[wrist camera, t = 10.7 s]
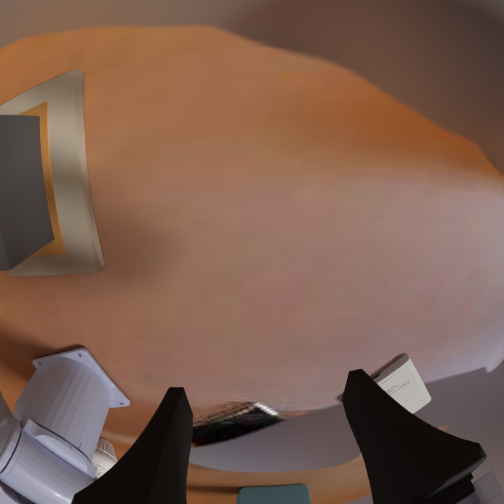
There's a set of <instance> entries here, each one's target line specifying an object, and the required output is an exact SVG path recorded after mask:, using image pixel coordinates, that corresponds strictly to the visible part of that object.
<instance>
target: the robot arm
mask: <svg viewBox="0 0 504 504" xmlns="http://www.w3.org/2000/svg"><path fill="white" fill-rule="evenodd" d="M32 363H33V365H34V366H35V367H36V369H37V370H36V371H35V373H34V374H33V376H32V377H31V379H30V380H29V382H28V384H27V385H26V387H25V388H24V390H23V392H22V393H21V395H20V397H19V398H18V400H17V402H16V404H15V408H14V418H6V419H4V420H3V421H2V422H1V423H0V504H187V502H186V479H187V469H188V462H189V455H190V448H191V441H192V430H193V413H192V411H191V408H190V405H189V402H188V399H187V396H186V393H185V390H184V387H170V388H169V389H168V390H167V392H166V394H165V396H164V398H163V400H162V402H161V403H160V405H159V407H158V409H157V410H156V412H155V414H154V415H153V417H152V418H151V420H150V422H149V423H148V425H147V426H146V428H145V429H144V430H143V432H142V433H141V435H140V436H139V437H138V439H137V440H136V441H135V443H134V444H133V445H132V446H131V448H130V449H129V450H128V451H127V452H126V453H125V454H124V456H123V457H122V458H121V459H120V460H119V461H118V462H117V463H116V464H115V465H114V466H113V467H111V468H110V469H109V470H108V471H107V472H106V473H104V474H103V475H102V476H101V477H99V478H98V477H96V473H97V469H98V468H97V467H95V466H94V465H92V464H91V463H92V459H93V456H94V453H95V449H96V446H97V443H98V440H99V437H100V434H101V431H102V428H103V425H104V422H105V419H106V416H107V413H108V410H109V408H113V407H123V406H129V405H130V401H129V399H128V398H127V397H126V396H125V395H124V394H123V393H122V392H121V391H120V390H119V389H118V387H117V386H116V385H115V384H114V383H113V382H112V381H111V379H110V378H109V377H108V376H107V375H106V373H105V372H104V371H103V370H102V369H101V367H100V366H99V365H98V364H97V362H96V361H95V360H94V359H93V357H92V356H91V355H90V353H89V352H88V351H87V350H86V349H85V348H78V349H74V350H70V351H66V352H62V353H58V354H54V355H50V356H46V357H42V358H37V359H34V360H33V361H32ZM342 401H343V405H344V409H345V413H346V416H347V419H348V422H349V424H350V427H351V429H352V431H353V434H354V436H355V438H356V441H357V444H358V446H359V448H360V451H361V453H362V456H363V459H364V462H365V466H366V470H367V474H368V478H369V482H370V487H371V492H372V498H373V504H504V488H503V485H502V483H501V481H500V480H499V478H498V476H497V474H496V472H495V470H494V469H491V470H490V471H489V472H488V473H486V474H485V475H484V476H482V477H481V478H480V479H478V480H477V481H475V482H474V483H473V484H472V482H471V479H473V476H472V474H471V473H472V472H473V471H474V470H475V469H476V468H477V467H478V466H479V465H480V464H481V463H483V461H485V459H486V457H487V455H486V454H485V452H484V450H483V449H482V447H481V445H480V444H479V443H476V442H472V441H468V440H464V439H461V438H458V437H456V436H453V435H450V434H448V433H446V432H444V431H441V430H439V429H437V428H435V427H433V426H431V425H430V424H428V423H426V422H424V421H423V420H421V419H420V418H418V417H417V416H415V415H414V414H412V413H411V412H409V411H408V410H407V409H406V408H404V407H403V406H402V405H400V404H399V403H398V402H397V401H396V400H395V399H393V398H392V397H391V396H390V395H389V394H388V393H387V392H385V391H384V390H383V389H382V388H381V387H380V386H379V385H378V384H377V383H376V382H375V381H374V380H373V379H372V378H371V377H370V376H369V375H368V374H367V373H366V372H365V371H364V370H362V369H358V370H353V371H349V374H348V378H347V382H346V386H345V390H344V394H343V397H342Z"/></svg>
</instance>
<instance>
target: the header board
mask: <svg viewBox="0 0 504 504" xmlns="http://www.w3.org/2000/svg"><path fill="white" fill-rule="evenodd" d="M0 115H28V116H40V142H41V156H42V167H43V176H44V183H45V191H46V197H47V203H48V209H49V214H50V219H51V224H52V229H53V234H54V238H55V240H53V241H52V242H50V243H48V244H47V245H45V246H44V247H42V248H41V249H39V250H38V251H37V252H35V253H34V254H32V255H31V256H29V257H28V258H27V259H25V260H24V261H22V262H21V263H20V264H18V265H17V266H15V267H14V268H13V269H11V270H8V272H9V275H10V277H21V276H42V275H62V274H80V273H98V272H99V271H100V270H101V269H102V268H103V267H104V266H105V264H104V260H103V255H102V251H101V247H100V242H99V237H98V233H97V228H96V222H95V217H94V211H93V205H92V199H91V192H90V185H89V177H88V169H87V159H86V147H85V132H84V73H83V72H81V71H78V70H76V69H75V70H73V71H70V72H68V73H65V74H63V75H60V76H58V77H56V78H53V79H51V80H49V81H47V82H44V83H42V84H40V85H38V86H36V87H34V88H32V89H30V90H28V91H26V92H24V93H22V94H20V95H18V96H17V97H15V98H13V99H11V100H9V101H8V102H6V103H4V104H3V105H1V106H0Z"/></svg>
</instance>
